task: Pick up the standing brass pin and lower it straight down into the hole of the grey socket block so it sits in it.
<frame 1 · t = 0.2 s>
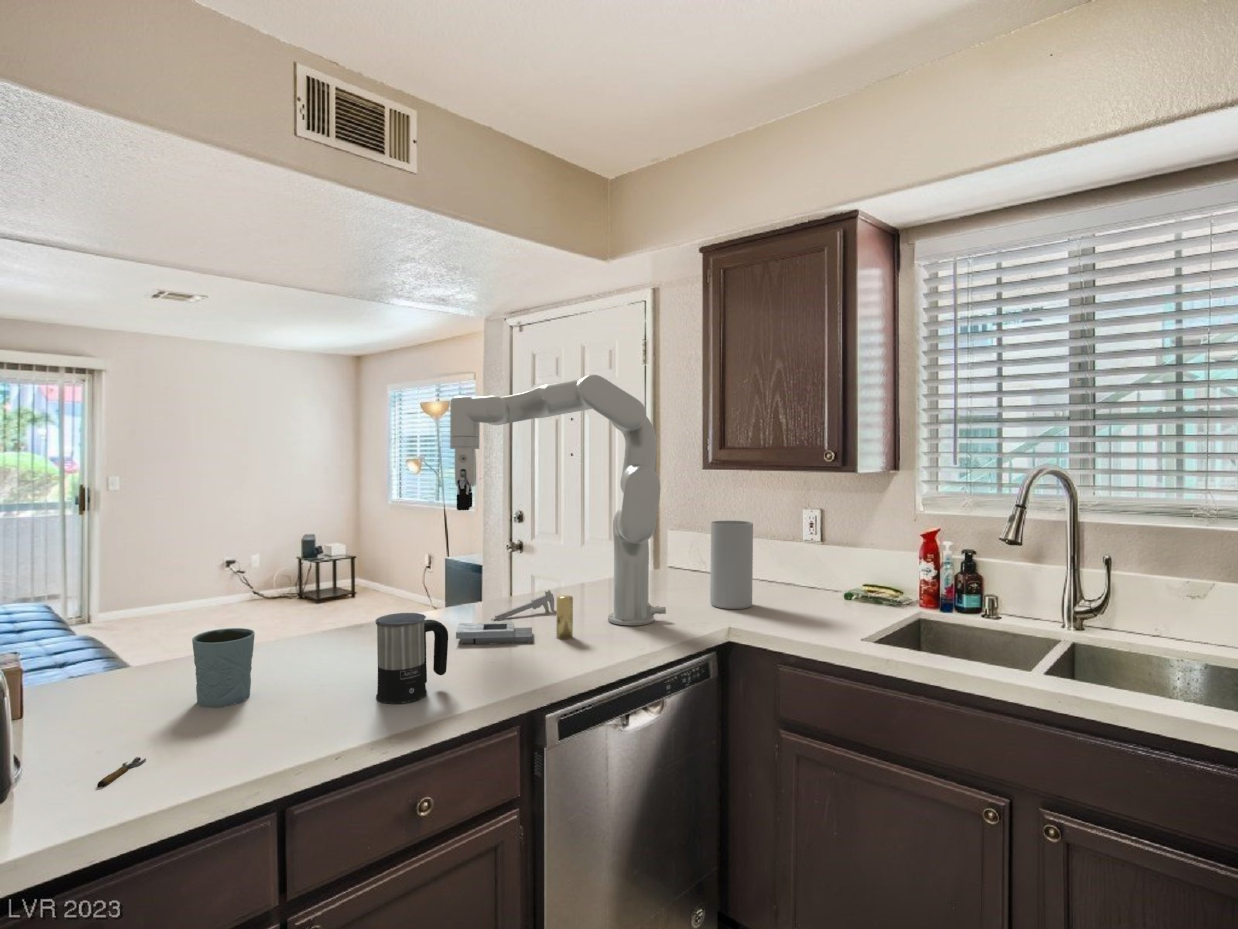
hand: (464, 508, 188), 31 cm above the worktop, tool pointing down, fingers open, 9 cm apart
caliper: (523, 616, 201), on the worktop
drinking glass: (224, 700, 132), on the worktop
grey socket block: (495, 639, 175), on the worktop
cylinder vase: (731, 606, 215), on the worktop
milk frother: (399, 690, 138), on the worktop
can opener: (123, 776, 102), on the worktop
pin: (564, 637, 177), on the worktop
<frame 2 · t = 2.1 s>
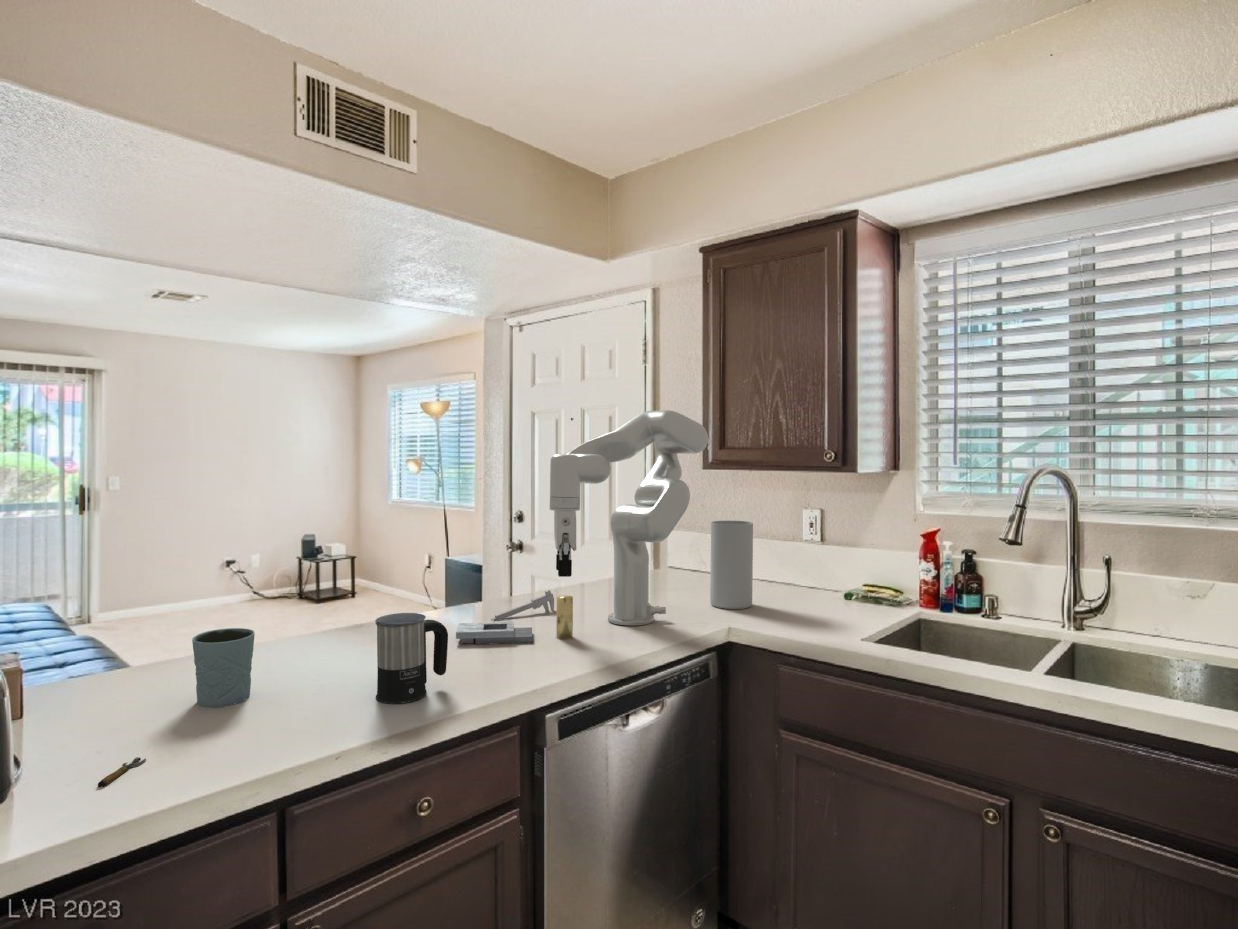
hand: (563, 573, 177), 16 cm above the worktop, tool pointing down, fingers open, 9 cm apart
nothing on the worktop moved.
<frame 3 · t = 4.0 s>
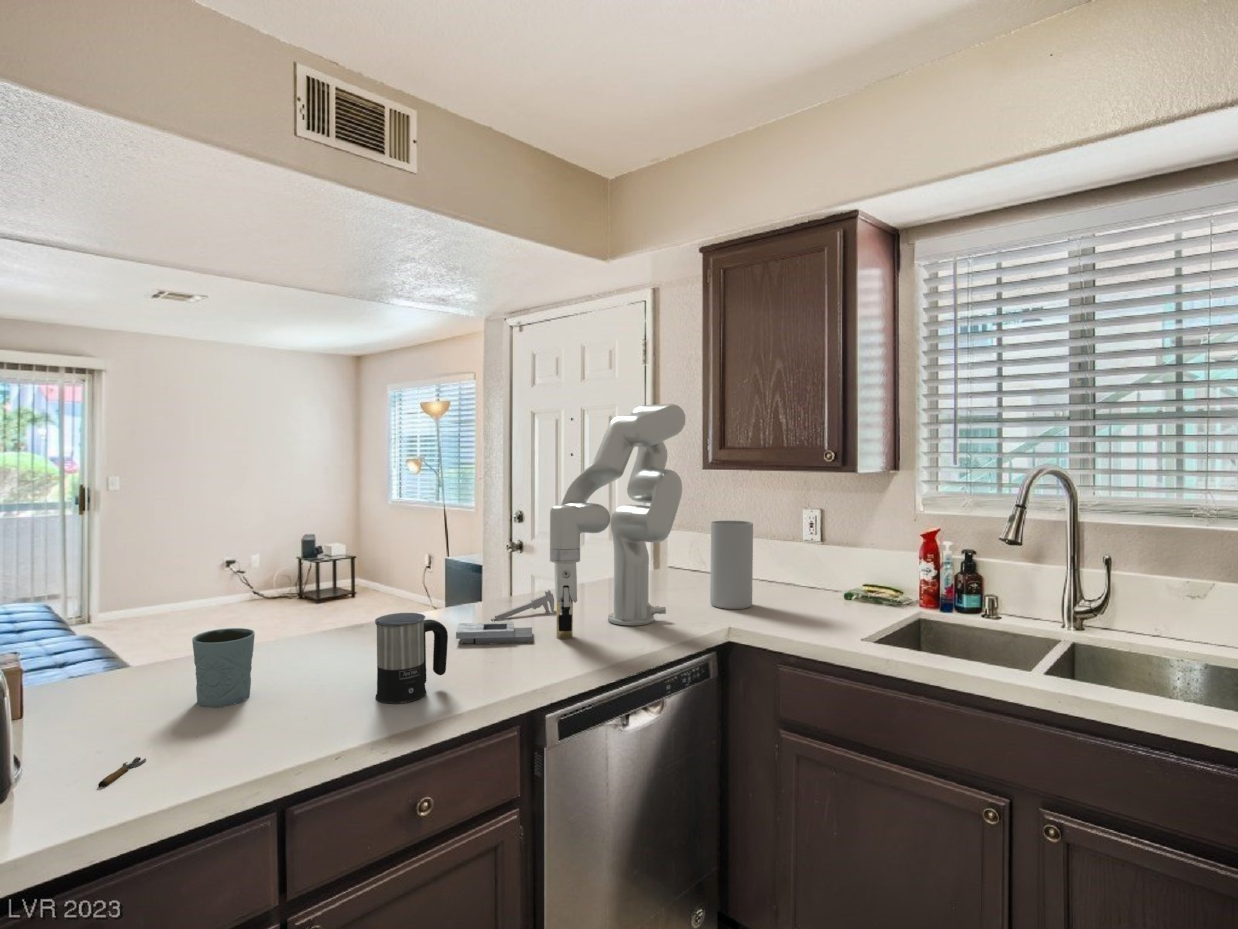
hand: (564, 627, 177), 2 cm above the worktop, tool pointing down, fingers closed on pin, 4 cm apart
pin: (564, 637, 177), on the worktop, touching gripper
everything else where it was.
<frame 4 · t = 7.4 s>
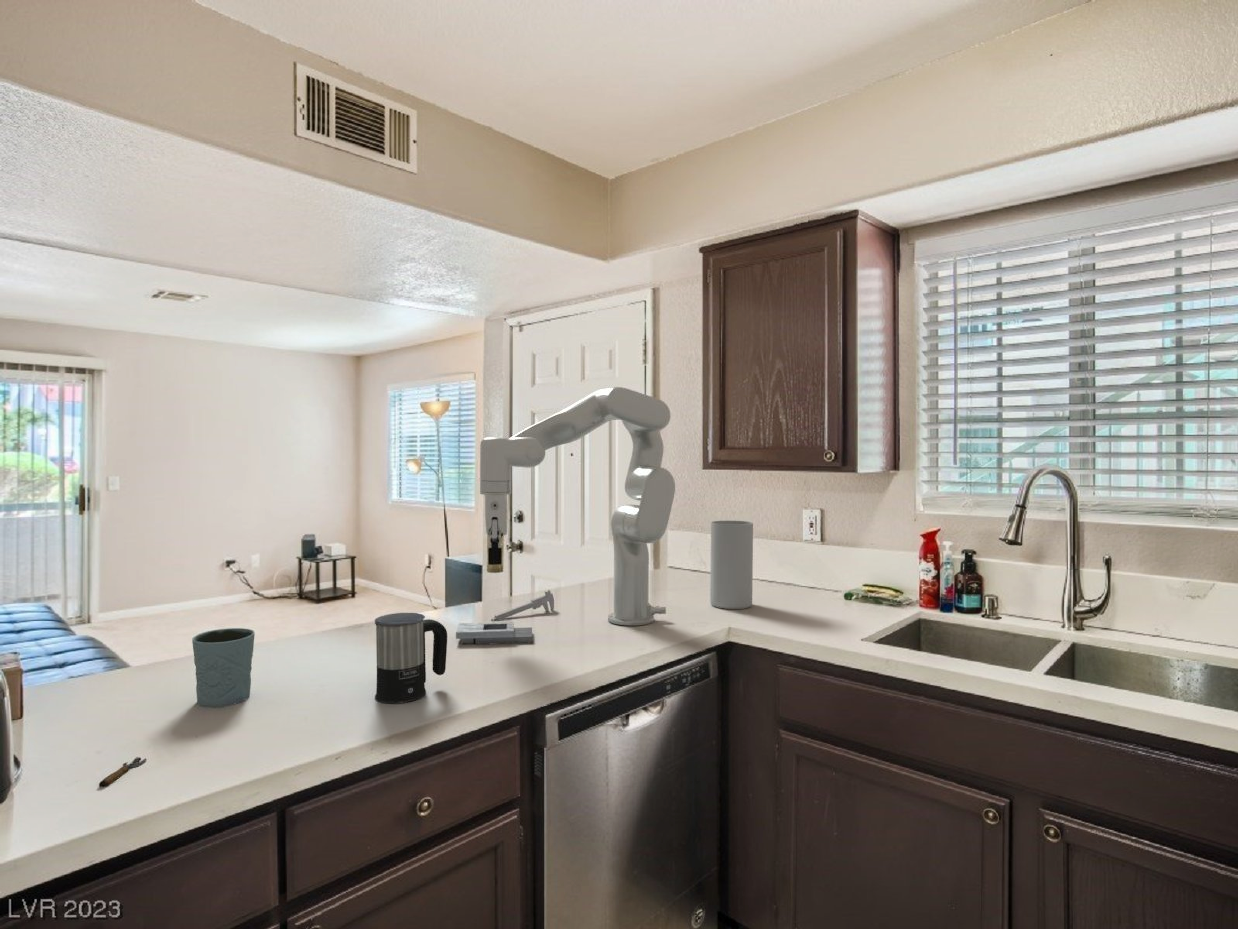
hand: (495, 562, 175), 19 cm above the worktop, tool pointing down, fingers closed on pin, 4 cm apart
pin: (495, 571, 175), point 17 cm above the worktop, touching gripper
everything else where it was.
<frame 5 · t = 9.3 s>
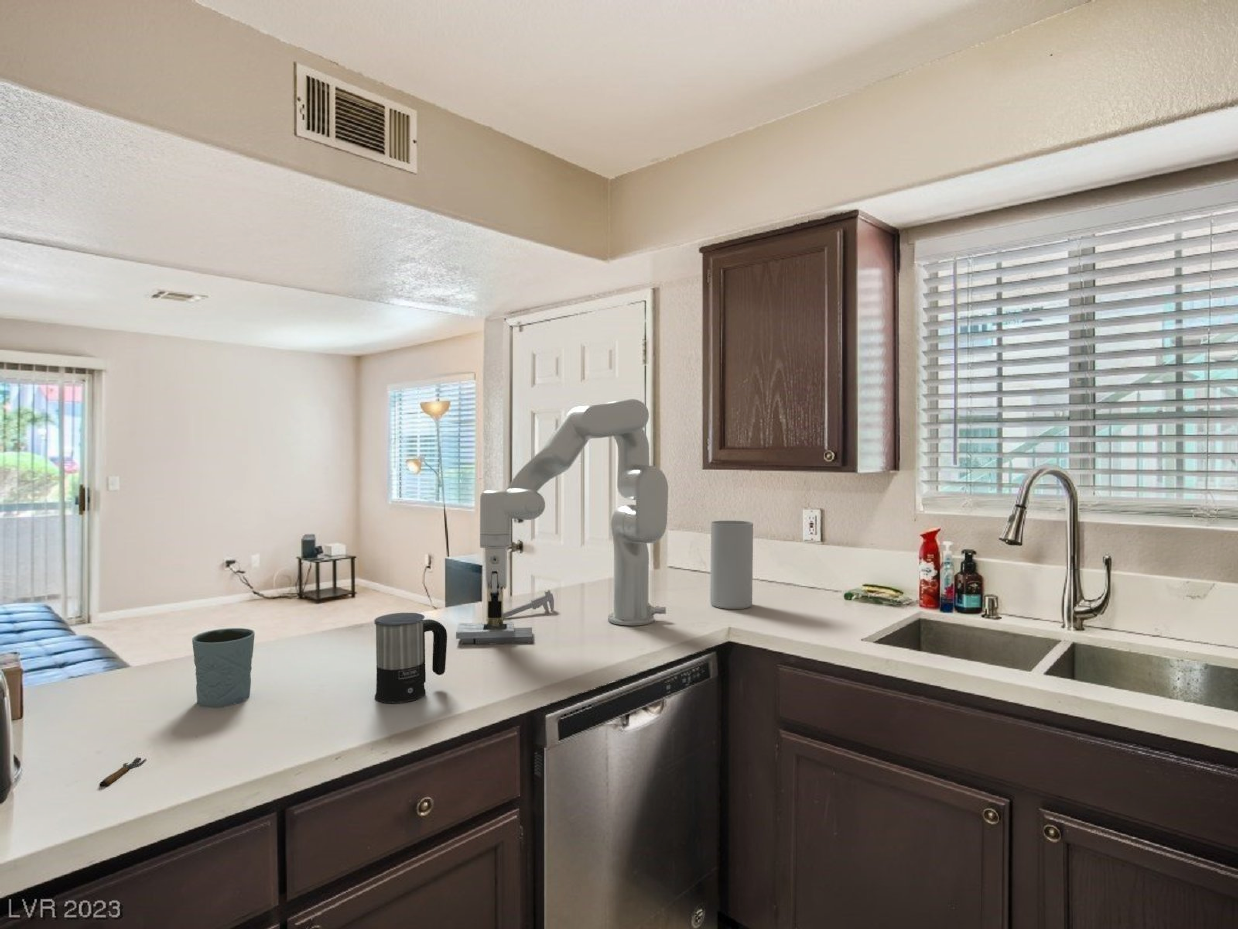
hand: (495, 614, 175), 6 cm above the worktop, tool pointing down, fingers closed on pin, 4 cm apart
pin: (494, 624, 175), point 4 cm above the worktop, touching gripper
everything else where it was.
when the fingers open (4 cm above the worktop, at t = 10.7 s): pin drops 1 cm, resting in grey socket block.
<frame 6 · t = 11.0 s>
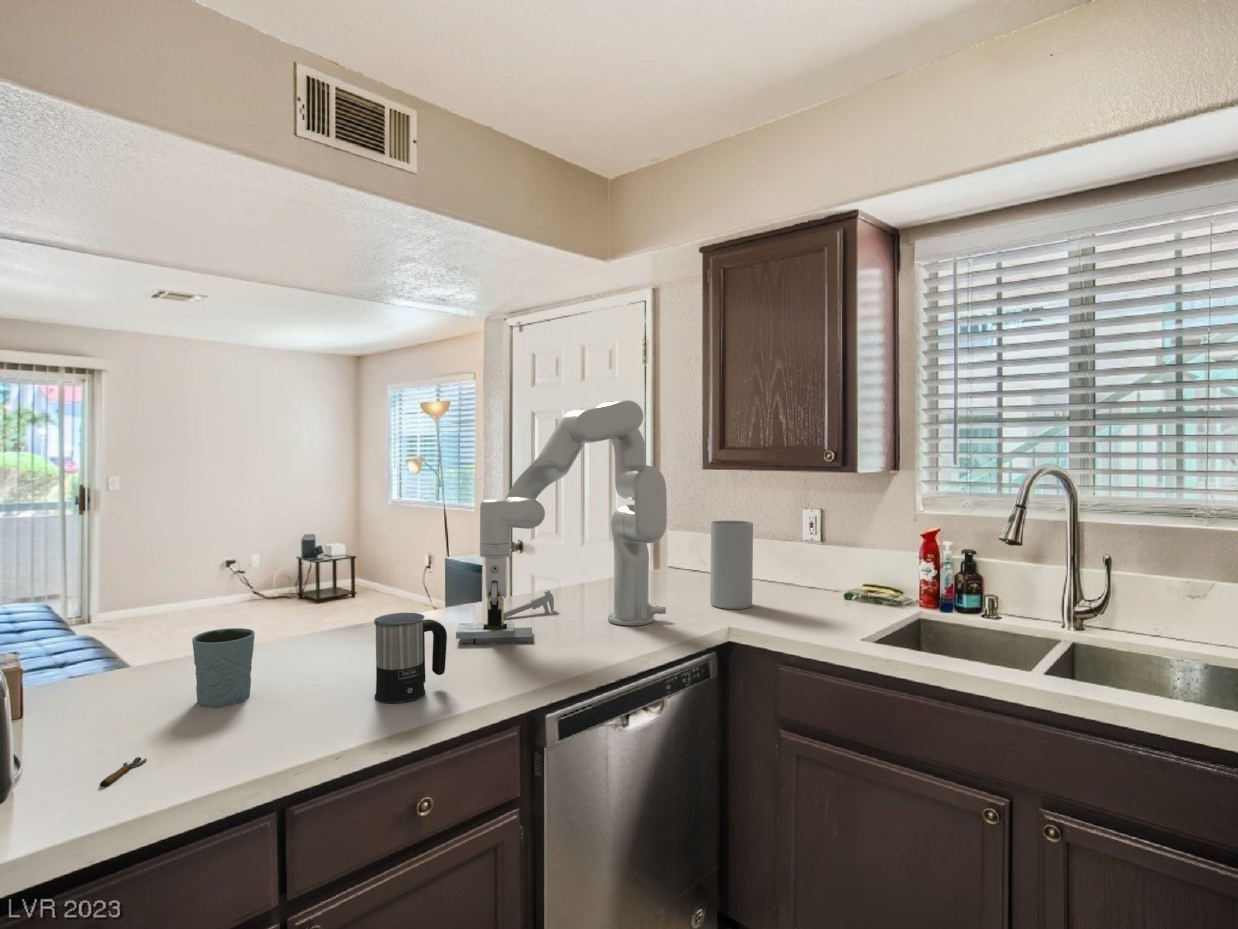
hand: (495, 621, 175), 4 cm above the worktop, tool pointing down, fingers open, 7 cm apart
pin: (495, 639, 175), resting in grey socket block
everything else where it was.
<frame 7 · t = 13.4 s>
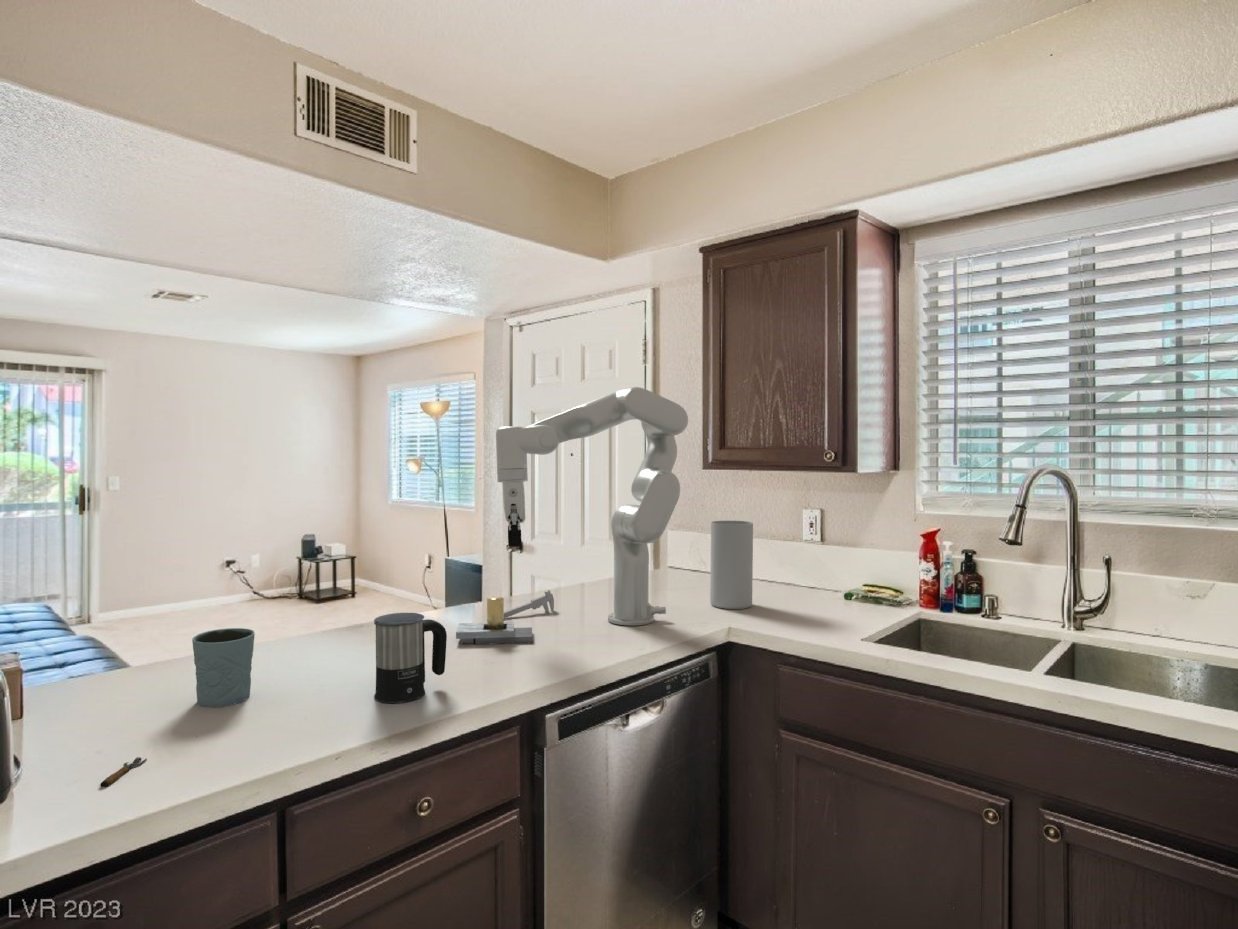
hand: (514, 543, 180), 23 cm above the worktop, tool pointing down, fingers open, 9 cm apart
nothing on the worktop moved.
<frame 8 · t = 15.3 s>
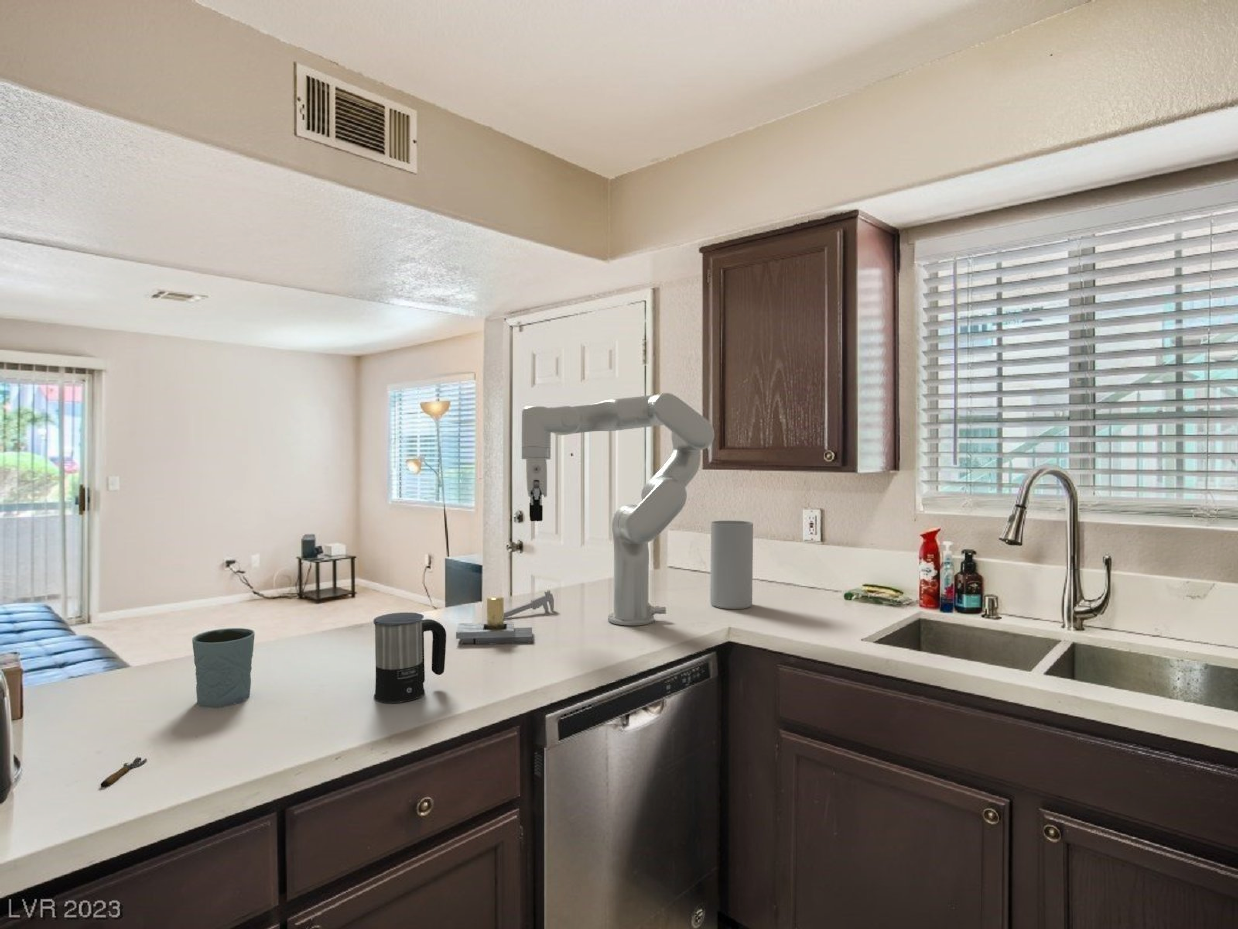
hand: (535, 519, 187), 28 cm above the worktop, tool pointing down, fingers open, 9 cm apart
nothing on the worktop moved.
at the end: pin 0.0 cm off-centre on the grey socket block, point 0.0 cm above the grey socket block's base; pin tilted 0°; the gripper is holding nothing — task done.
